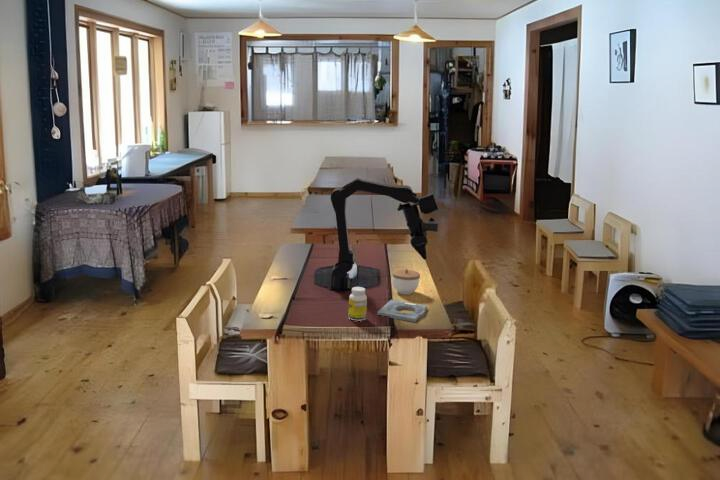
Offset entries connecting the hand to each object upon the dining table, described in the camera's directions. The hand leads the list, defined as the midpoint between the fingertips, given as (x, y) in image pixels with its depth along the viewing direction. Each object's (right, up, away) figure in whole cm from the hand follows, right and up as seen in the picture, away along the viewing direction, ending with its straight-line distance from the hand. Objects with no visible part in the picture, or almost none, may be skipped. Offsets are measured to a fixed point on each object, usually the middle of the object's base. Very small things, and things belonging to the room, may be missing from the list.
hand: (425, 256), depth 291 cm
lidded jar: (-7, -14, +6) cm, 17 cm away
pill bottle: (-26, -21, -27) cm, 43 cm away
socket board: (-10, -20, -17) cm, 28 cm away
